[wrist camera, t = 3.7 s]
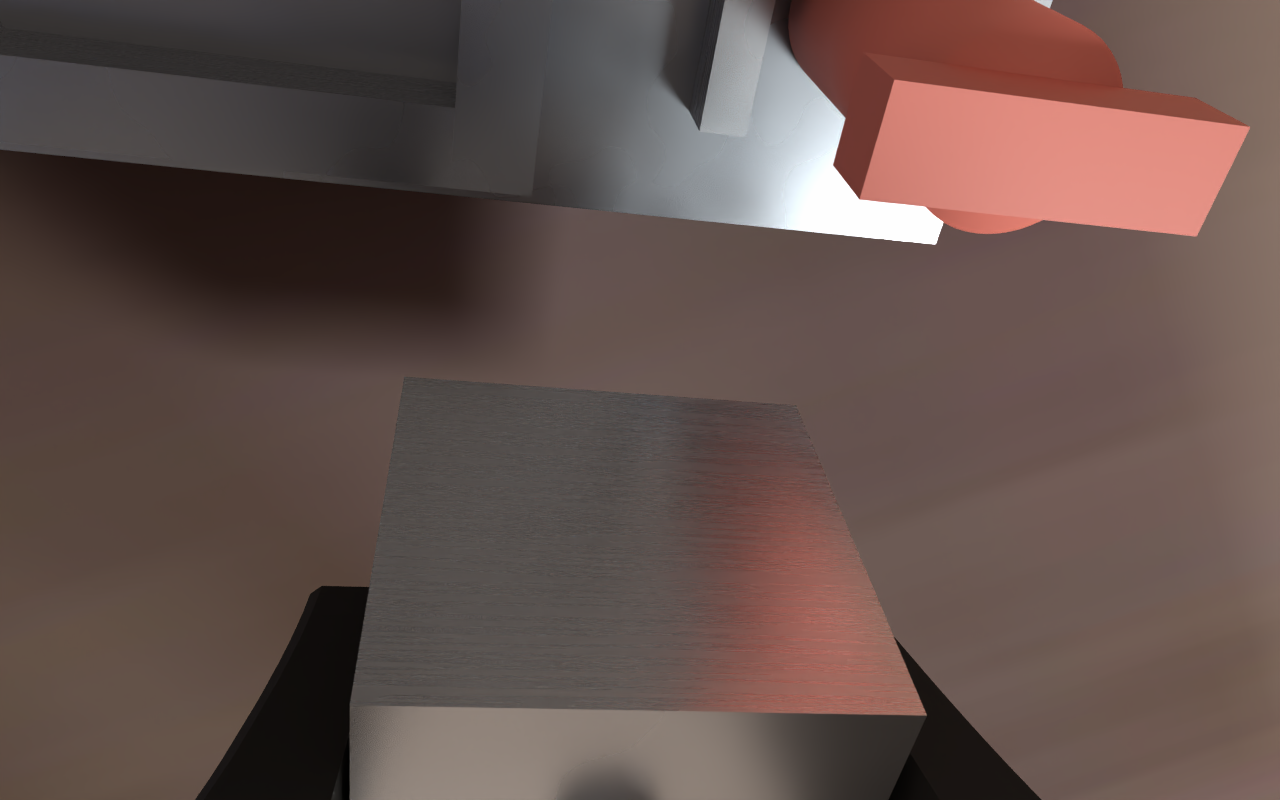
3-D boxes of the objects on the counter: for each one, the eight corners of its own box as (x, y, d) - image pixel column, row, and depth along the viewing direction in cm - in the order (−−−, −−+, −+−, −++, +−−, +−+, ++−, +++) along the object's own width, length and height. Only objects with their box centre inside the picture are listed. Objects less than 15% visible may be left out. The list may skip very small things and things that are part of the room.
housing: (720, 669, 14) (814, 1087, 10) (394, 660, 13) (337, 1112, 9) (795, 405, 12) (963, 803, 7) (404, 377, 11) (335, 801, 7)
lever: (956, 108, 14) (1172, 286, 9) (727, 79, 13) (843, 254, 9) (1009, -51, 12) (1279, 68, 8) (761, -91, 12) (913, 13, 8)
